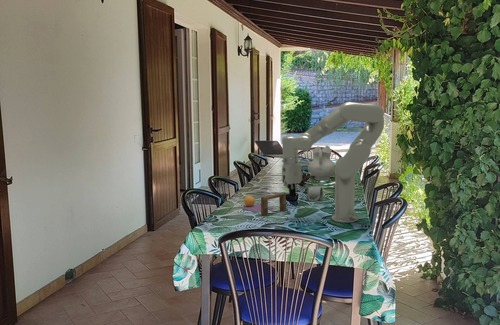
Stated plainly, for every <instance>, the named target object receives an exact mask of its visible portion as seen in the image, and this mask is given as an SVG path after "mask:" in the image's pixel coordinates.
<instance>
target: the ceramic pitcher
mask: <svg viewBox="0 0 500 325" xmlns="http://www.w3.org/2000/svg"><path fill="white" fill-rule="evenodd" d="M312 153H313V160H312V161H311V162H309V164H308V171H309V173H310V174H311V175H312V176H314V178H313V180H316V181H323V182H324V181H330V180H331V176H333V175H334V174H335V164H336V162H333V161H332V160H331V154H332V149H331V146H329V145H325V146H324V147H321V146H315V148H314V149H312Z"/></svg>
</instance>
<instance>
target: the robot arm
mask: <svg viewBox="0 0 500 325" xmlns="http://www.w3.org/2000/svg"><path fill="white" fill-rule="evenodd" d="M384 115H385V112H384V108H383V107H382V106H380V105H379V104H376V103H361V102H352V101H346V102H344V103H342V104H340V106H338V107H336V108H335V109H333V111H331V112H330V113H329V114H327V115H326V116H324V117H323V118H322V119H320V120H319V121H318V122H317V123H316V124H314V125H313V126H312V127H310V128H309V129H308V130H306V131H305V132H303V133H301V134H300V135H299V136H296V135H285V136H283V137H282V138H281V145H282V146H281V147H282V159H281V160H282V161H281V162H282V167H281V181H282V183H283V187H287V189H288V192H289V193H288V195H289V197H291V198H292V197H293V198H294V197H297V187H298V185H299V184H301V182H302V181H303V172H302V166H301V163H300V162H299V151H304V152H305V151H309V150H311V149H312V147H313V145H314V144H316V143H318V141H321V139H323V138H324V137H326V136H329V135H332V134H333V133H335V132H336V131H338V129H340V128H341V127H343V126H344V125H346V124H347V123H349V122H350V121H351V122H360V123H365V125H364V127H363V129H362V130H361V131H360V133H359V134H358V135H357V136H356V137H355V139H354V140H353V141H352V142H351V143H350V145H349V148H348V151H347V152H346V153H345V154H344V155H343V156H340V157H339V158H338V159H337V160H336V162H335V172H334V174H335V176H334V186H335V187H334V188H335V189H334V214H333V215H332V216H331V220H332V221H334V222H337V223H345V224H346V223H355V222H357V221H359V219H360V218H361V215H359V214H357V211H356V210H355V200H356V199H355V195H356V190H355V189H356V174H357V173H359V170H360V169H361V168H362V167H363V166H364V164H365V163H366V162H367V160H368V159H369V157H370V156H371V152H372V150H371V149H372V147H373V146H374V145H375V143H377V141H378V139H379V138H380V136H381V134H382V133H383V131H384V129H385V128H384V127H385V117H384Z"/></svg>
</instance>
